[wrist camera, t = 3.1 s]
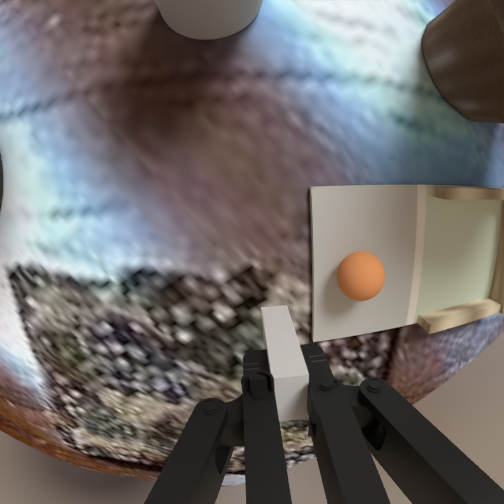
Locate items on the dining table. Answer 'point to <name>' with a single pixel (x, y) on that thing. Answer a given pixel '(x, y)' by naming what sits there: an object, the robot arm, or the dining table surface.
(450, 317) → the fence
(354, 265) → the ball
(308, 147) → the dining table surface
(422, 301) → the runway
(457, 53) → the plant pot
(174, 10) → the mug
